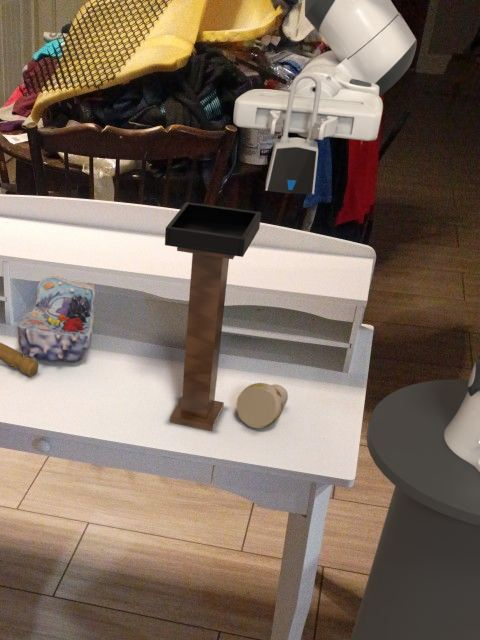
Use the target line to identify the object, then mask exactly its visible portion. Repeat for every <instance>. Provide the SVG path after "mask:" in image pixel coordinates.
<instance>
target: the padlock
mask: <svg viewBox="0 0 480 640" xmlns="http://www.w3.org/2000/svg"><path fill="white" fill-rule="evenodd" d="M300 73H301V72H300ZM300 73H299V74H297V75H296V76H295V77H294V79H293V80H292V82H291V84H292V85H291V84H290V86H291V89H290V94H289V99H288V105H287V111H286V117H285V123H284V130H283V134H282V135H281V137H280V138H276V139H275V140H274V142H273V143H274V144H273V148H272V152H271V157H270V162H269V166H268V171H267V175H266V180H265V191H267V192H274V193H281V194H282V193H283V194H291V195H315V186H316V179H317V178H316V177H317V168H318V157H319V145H318V142H317V141H316V140H315V139H311V137H312V133H313V131H312V130H313V126H314V124H315V123H316V119H317V113H318V107H319V100H320V93H321V81H320V79H319V77H318V76H317V75H315V74H314V73H311V72H304V73H301V74H300ZM304 78H310V79H312V80H313V81H314V82H315V84H316V90H315V98H314V105H313V111H312V117H311V123H310V129H309V135H308V138H307V137H306V138H303V137H302V138H301V137H289V132H288V131H289V125H290V118H291V112H292V106H293V101H294V95H295V90H296V86H297V84H298V82H299V81H300V80H302V79H304Z"/></svg>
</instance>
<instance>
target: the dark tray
mask: <svg viewBox="0 0 480 640" xmlns="http://www.w3.org/2000/svg"><path fill="white" fill-rule="evenodd" d="M261 219H262V212H261V211H254V210H249V209H248V210H247V209H240V208H233V207H225V206H218V205H210V204H203V203H196V202H189V201H185V203H184V204H183V205H182V207H181V208H180V209H179V210H178V212H176V214H175V215H174V217H173V218H172V219H171V220H170V222H169V223H168V224H167V225H166V226H165V234H164V246H167V247H174V248H177V247H180V248H186V249H193V250H200V251H206V252H213V253H219V254H226V255H233V256H235V257H241V258H243V257H244V256H245V254H246V252H247V251H248V249H249V247H250V246H251V244H252V242H253V240H254V239H255V237H256V235H257V234H258V232H259V231H260V226H261Z"/></svg>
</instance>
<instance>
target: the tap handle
mask: <svg viewBox="0 0 480 640" xmlns="http://www.w3.org/2000/svg"><path fill="white" fill-rule="evenodd" d="M0 361H2V362H3V363H5V364H7V365H9V366H11V367H12V368H14V369H17V368H18V369H19V371H20V372H21V373H22V374H26V375H27V376H28V377H33V376H35V375H36V373H37V372H38V370H39V362H38V361H36V360H34V359H33V357H30V356H25V355H24V354H22V352H19V351H18V350H17V349H15V348H13V347H11V346H9V345H7V344H5V343H3V342H1V341H0Z"/></svg>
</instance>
